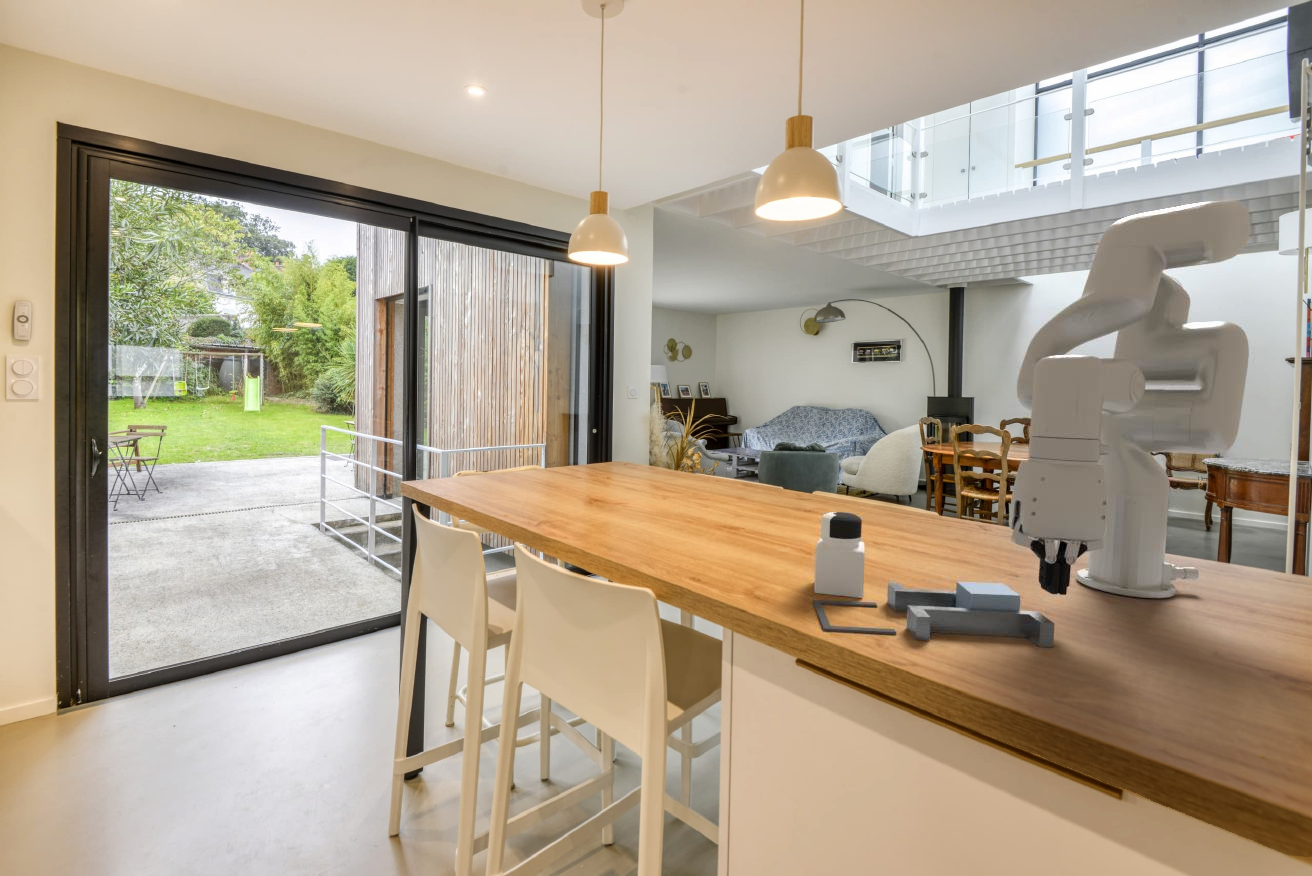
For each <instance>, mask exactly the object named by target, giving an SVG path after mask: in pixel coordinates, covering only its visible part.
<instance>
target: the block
mask: <svg viewBox="0 0 1312 876" xmlns="http://www.w3.org/2000/svg"><path fill="white" fill-rule="evenodd" d="M955 586H956V590H955V591H956V608H974V609H995V610H1016V611H1021V609H1020V608H1021V607H1020V606H1021V595H1020V594H1019V593H1017V592H1016V591H1015V590H1013V589H1011V588H1010V587H1008V586H1007V585H1006V584H1005V583H1003V582H1001V583H999V582H980V581H979V582H975V581H956V585H955Z"/></svg>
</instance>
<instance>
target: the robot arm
mask: <svg viewBox="0 0 1312 876" xmlns="http://www.w3.org/2000/svg"><path fill="white" fill-rule="evenodd" d="M1251 223H1252V222H1251V216H1250V212H1249V210H1248V208H1247V207H1246V205H1245V204H1244V203H1242V202H1241V201H1239V200H1237V199H1226V200H1225V199H1224V200H1216V201H1215V200H1214V201H1203V202H1198V203H1192V204H1184V205H1181V206H1176V207H1170V208H1165V209H1159V210H1153V211H1148V212H1143V213H1138V214H1133V215H1130V216H1129V215H1128V216H1127V217H1124V218H1121V219H1119V220H1117V221H1115V222H1114V223H1112V224H1111V225H1110V226H1108V227H1107V228H1106V229H1105V231H1103V234H1102V235H1101V238H1100V240H1099V244H1098V245H1097V249H1096V252H1095V255H1094V257H1093V261H1092V265H1091V267H1090V270H1089V272H1088V273H1089V274H1088V276H1087V279H1086V282H1085V285H1084V288H1083V291H1082V294H1081V297H1079V298H1078V299H1076V300H1075V301H1073V302H1072V303H1070V304H1069V305H1068V306H1065V308H1064V309H1062V310H1061V311H1059V312H1058V313H1057V314H1055V315H1054V316H1053V317H1052V318H1051V319H1050V320H1048V322H1046V323H1045V324H1044V325H1043V326H1042V327H1041V328H1040V329H1039V330H1038V331H1037V332H1036V333H1035V334H1034V336H1033V338H1032V339H1031V340H1030V342H1029V344H1028V347H1027V349H1026V351H1025V355H1024V357H1023V361H1022V363H1021V367H1020V370H1019V373H1018V378H1017V382H1016V394H1017V398H1018V401H1019V403H1020V405H1021V406H1022V407H1024V408H1025V409H1026V410H1028V411H1031V414H1030V415H1031V416H1030V429H1029V430H1030V431H1029V440H1028V441H1029V442H1028V443H1029V445H1028V458H1027V459H1021V461H1020V463H1019V465H1018V469H1017V472H1016V474H1015V475H1016V476H1015V480H1014V484H1013V488H1012V489H1013V490H1012V495H1011V500H1010V507H1009V515H1008V516H1009V517H1008V525H1009V526H1008V527H1009V528H1010V529H1011V530H1012V531H1013V532H1012V535H1011V537H1010V540H1011V542H1012V543H1014V544H1016V545H1018V546H1022V547H1025V548H1029V549H1030V550H1031V551H1032V552H1033V554H1034V555H1035V556H1036V557H1037V558H1038V559H1039V569H1038V583H1039V585H1040V588H1041V589H1042V590H1044V591H1045V592H1048V593H1049V594H1051V595H1058V594H1059V595H1060V596H1061V595H1062V596H1066V595H1067V592H1068V588H1069V586H1070V582H1071V581H1070V580H1071V570H1072V569H1071V568H1072V566H1073V565H1075V564H1076V562H1077V560H1078V558H1079V557H1081V556H1082V555H1083V554H1085V553H1086V552H1088V553H1089V554H1088V567H1086V568H1082V569H1079V570H1077V571H1076V577H1075V578H1076V580H1077V581H1078V582H1080V583H1081V584H1083V585H1085V586H1087V587H1090V588H1092V589H1095V590H1098V591H1102V592H1107V593H1111V594H1116V595H1120V596H1127V597H1133V598H1134V597H1135V598H1142V599H1144V598H1145V599H1167V598H1172V597H1174V596H1175V595H1176V588H1177V587H1176V586H1175V585H1174V584H1173V583H1171V582H1174V581H1176V580H1177V579H1181V580H1192V581H1196V580H1198V578H1199V577H1200V576H1199V575H1200V574H1199V571H1198V569H1197V567H1194V566H1193V567H1192V566H1191V567H1190V566H1179V567H1178V566H1177V565H1176V564H1172V563H1170V562H1167V561H1166V560H1165V557H1166V544H1167V543H1166V542H1167V528H1168V516H1169V502H1170V489H1171V487H1170V486H1171V483H1170V479H1169V476H1168V473H1166V471H1165V469H1164V468H1163V467H1162V466H1161V464H1160V463H1159V461H1157V459H1156V458H1155V457H1154V456H1153V455H1152V453H1160V452H1161V453H1162V452H1163V453H1174V454H1175V453H1178V454H1192V455H1219V454H1223V453H1225V452H1227V451H1229V450H1230V449H1231V448H1232V447H1233V445H1234V444H1235V442H1236V440H1237V437H1238V433H1239V427H1240V421H1241V416H1242V409H1243V401H1244V395H1245V387H1246V380H1247V374H1248V373H1247V372H1248V367H1249V366H1248V365H1249V358H1250V357H1249V356H1250V355H1249V354H1250V353H1249V352H1250V350H1249V349H1250V346H1249V340H1248V337H1247V334H1246V331H1244V329H1243V327H1241V326H1240V325H1237V324H1235V323H1232V322H1228V321H1205V322H1204V321H1203V322H1189V323H1188V318H1189V312H1190V308H1191V307H1190V306H1191V298H1190V295H1189V294H1188V292H1187V291H1186V290H1185V289H1184V288H1183V286H1182V285H1181V284H1179V282H1177V281H1176V280H1175V279H1174V278H1172V277H1170V276H1169V275H1167V274H1166V273H1164V272H1163V271H1166V270H1171V269H1179V268H1186V267H1187V268H1188V267H1195V266H1202V265H1208V264H1209V265H1210V264H1218V263H1222V262H1225V261H1227V260H1230V259H1233V258H1234V257H1236V256H1237V255H1238V254H1240V252H1242V251H1243V250H1244V248H1245V246H1246V245H1247V243H1248V240H1249V238H1250V234H1251V227H1252V224H1251ZM1115 332H1117V337H1116V341H1115V346H1114V351H1113V352H1114V353H1113V358H1112V357H1111V358H1110V357H1109V358H1099V357H1098V356H1094V355H1084V354H1082V355H1081V354H1068V353H1069V352H1071V351H1072V350H1074V349H1076V348H1077V347H1080V346H1082V345H1084V344H1087V343H1088V342H1091V341H1094V340H1096V339H1097V340H1098V339H1099V338H1102V337H1105V336H1107V335H1110V334H1112V333H1115ZM1146 386H1198V387H1199V389H1165V388H1163V389H1156V388H1155V389H1151V388H1150V389H1149V388H1148V389H1146ZM1056 541H1057V544H1056Z"/></svg>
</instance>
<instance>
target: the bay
mask: <svg viewBox="0 0 1312 876" xmlns="http://www.w3.org/2000/svg"><path fill="white" fill-rule="evenodd" d="M812 604H813V606H814V609H815V611H816V613H817V617H818V620H819V622H820V624H821V627H822V629H823V631H824V632H841V633H842V632H843V633H859V634H881V635H897V631H896V629H894V628H880V627H879V628H877V627H863V626H862V627H861V626H860V627H859V626H843V625H842V626H841V625H840V626H837V625H831V624H830V620H829V619H828V616H827V613H826V612H825V610H824V608H823V605H831V606H846V605H847V607H848V606H849V607H850V606H851V607H852V606H853V607H870V608H877V607H878V604H877V603H876V602H869V601H853V600H851V601H848V600H828V599H827V600H826V599H812Z"/></svg>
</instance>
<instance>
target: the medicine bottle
mask: <svg viewBox="0 0 1312 876" xmlns="http://www.w3.org/2000/svg"><path fill="white" fill-rule="evenodd" d="M862 523H863V521H862V518H861V517H860V516H858V515H857V514H855V513H850V512H844V511H843V512H842V511H833V512H830V511H829V512H827V513H825V514H823V515H822V516H821V520H820V538H819V539H818V540H817V543H816V547H815V549H814V551H815V553H814V554H815V556H814V560H815V561H814V592H815V594H819V595H820V594H821V595H830V596H839V597H847V598H857V599H862V598H863V597H864V586H865V585H864V584H865V581H864V580H865V555H866V553H865V552H866V551H865V544H866V543H865V542H864V541H862V529H863V527H862V526H863V525H862Z"/></svg>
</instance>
